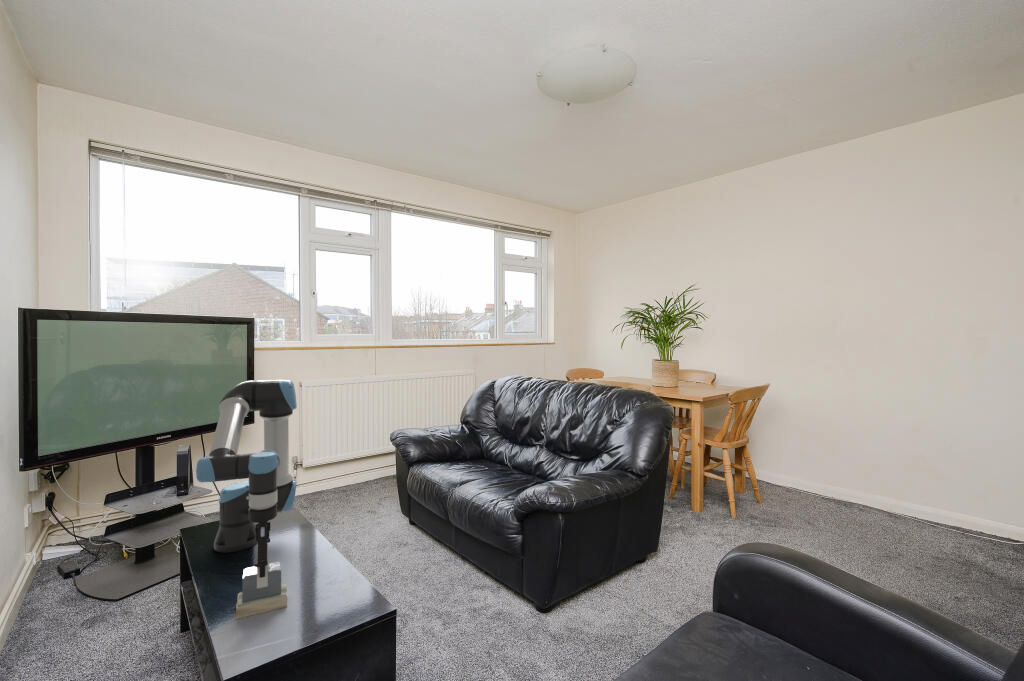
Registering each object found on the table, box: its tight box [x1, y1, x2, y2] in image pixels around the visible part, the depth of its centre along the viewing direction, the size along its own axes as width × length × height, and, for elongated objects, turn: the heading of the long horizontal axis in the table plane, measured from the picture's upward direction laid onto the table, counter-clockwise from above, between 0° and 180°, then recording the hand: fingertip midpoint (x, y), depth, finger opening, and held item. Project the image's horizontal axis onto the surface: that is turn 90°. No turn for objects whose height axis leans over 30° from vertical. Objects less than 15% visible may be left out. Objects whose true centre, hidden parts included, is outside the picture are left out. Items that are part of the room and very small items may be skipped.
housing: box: [241, 561, 282, 603], centre depth 136 cm, size 10×6×7 cm, turn 118°
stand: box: [235, 582, 288, 619], centre depth 136 cm, size 8×13×4 cm, turn 118°
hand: (262, 575), depth 136 cm, fingers open, 13 cm apart
